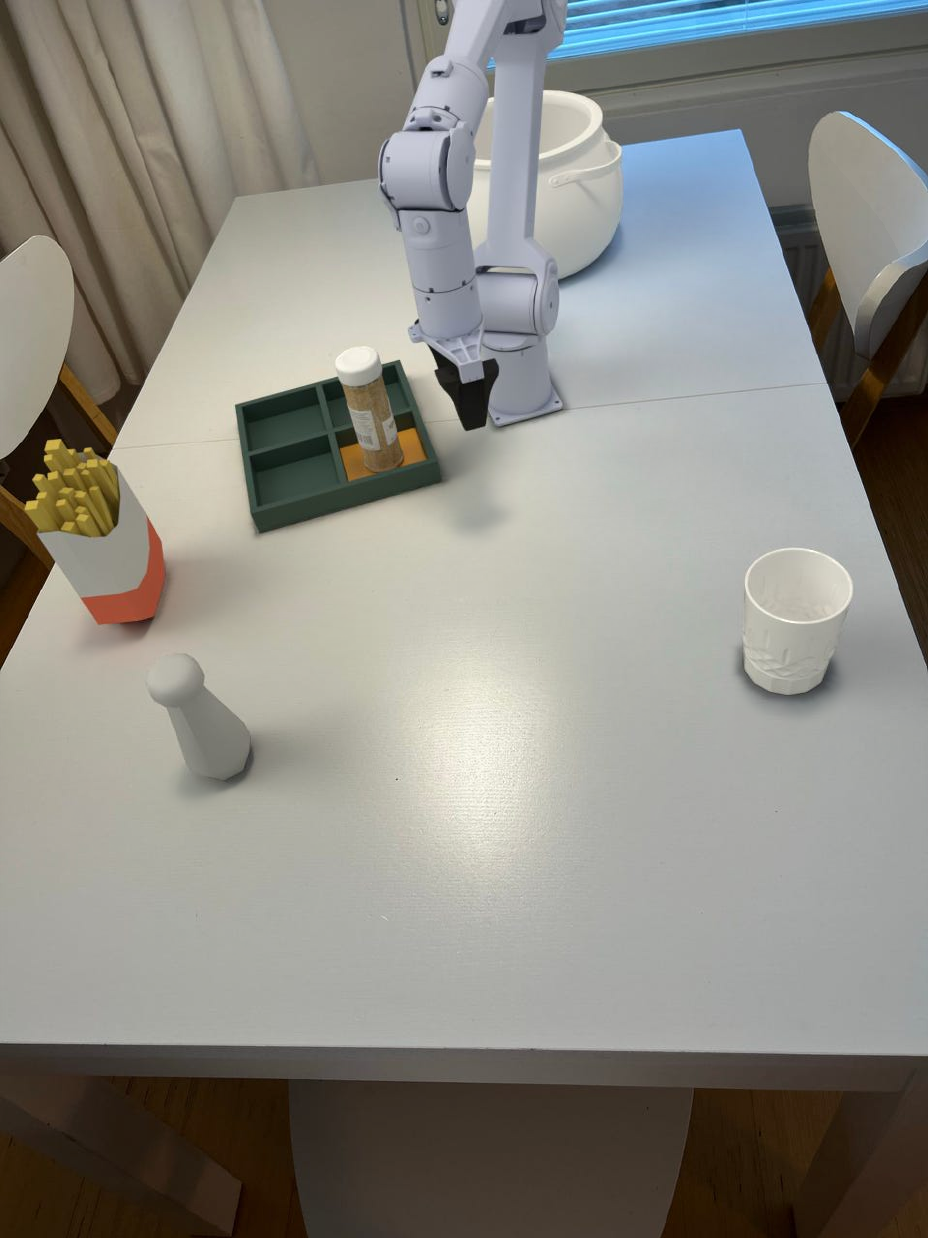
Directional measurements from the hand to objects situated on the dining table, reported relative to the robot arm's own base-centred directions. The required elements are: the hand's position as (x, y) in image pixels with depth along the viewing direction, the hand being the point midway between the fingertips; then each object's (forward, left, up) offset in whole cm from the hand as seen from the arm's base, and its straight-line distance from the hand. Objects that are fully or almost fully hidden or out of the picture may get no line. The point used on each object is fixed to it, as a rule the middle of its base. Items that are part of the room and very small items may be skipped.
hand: (465, 404), depth 92 cm
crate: (-12, -14, -10) cm, 21 cm away
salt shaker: (+26, -30, -11) cm, 41 cm away
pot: (-45, +19, -11) cm, 50 cm away
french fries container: (+3, -37, -11) cm, 38 cm away
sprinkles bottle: (-7, -9, -10) cm, 15 cm away
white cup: (+33, +18, -11) cm, 39 cm away
